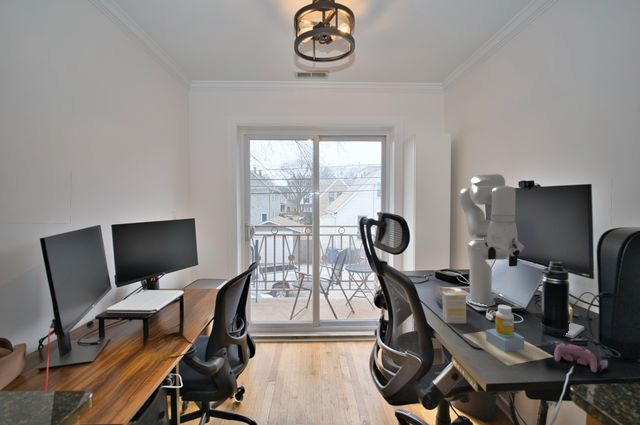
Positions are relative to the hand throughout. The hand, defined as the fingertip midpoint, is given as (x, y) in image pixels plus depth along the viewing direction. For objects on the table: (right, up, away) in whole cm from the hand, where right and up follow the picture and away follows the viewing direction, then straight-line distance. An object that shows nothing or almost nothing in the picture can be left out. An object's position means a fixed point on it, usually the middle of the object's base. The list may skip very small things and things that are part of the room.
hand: (501, 262), depth 107 cm
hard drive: (+26, -28, +2) cm, 38 cm away
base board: (-5, -29, -9) cm, 30 cm away
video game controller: (+10, -29, -20) cm, 37 cm away
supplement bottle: (-5, -24, -9) cm, 26 cm away
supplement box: (-13, -28, +11) cm, 33 cm away
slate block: (-5, -28, -9) cm, 30 cm away
